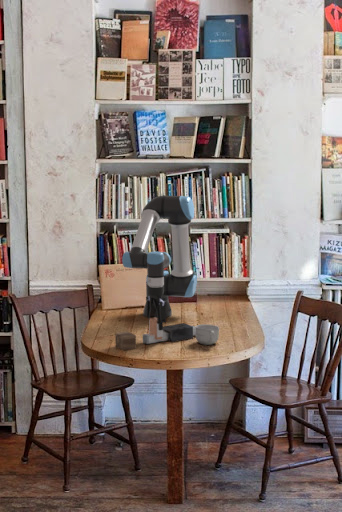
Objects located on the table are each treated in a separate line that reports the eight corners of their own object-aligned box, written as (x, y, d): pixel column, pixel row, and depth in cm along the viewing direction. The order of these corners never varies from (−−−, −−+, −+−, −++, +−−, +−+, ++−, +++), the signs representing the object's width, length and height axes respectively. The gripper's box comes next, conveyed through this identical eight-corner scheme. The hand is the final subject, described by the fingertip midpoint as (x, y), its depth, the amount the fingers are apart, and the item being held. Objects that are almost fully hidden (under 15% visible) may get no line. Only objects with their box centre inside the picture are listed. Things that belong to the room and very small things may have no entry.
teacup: (194, 340, 344) (194, 323, 343) (217, 339, 345) (217, 323, 344) (197, 348, 331) (198, 331, 329) (222, 348, 332) (222, 330, 330)
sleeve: (162, 338, 348) (162, 326, 347) (183, 334, 354) (183, 323, 354) (171, 342, 342) (171, 330, 341) (192, 338, 348) (192, 326, 347)
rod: (141, 341, 341) (141, 319, 339) (191, 332, 356) (191, 311, 354) (148, 344, 336) (148, 322, 334) (198, 335, 351) (198, 313, 349)
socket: (115, 346, 335) (115, 333, 334) (127, 344, 338) (126, 331, 337) (124, 350, 328) (124, 337, 327) (135, 348, 331) (135, 335, 330)
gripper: (137, 283, 343) (138, 331, 347) (159, 290, 327) (159, 341, 331) (151, 281, 347) (152, 329, 351) (173, 288, 331) (174, 338, 335)
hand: (155, 334), depth 341 cm, fingers closed on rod, 6 cm apart
